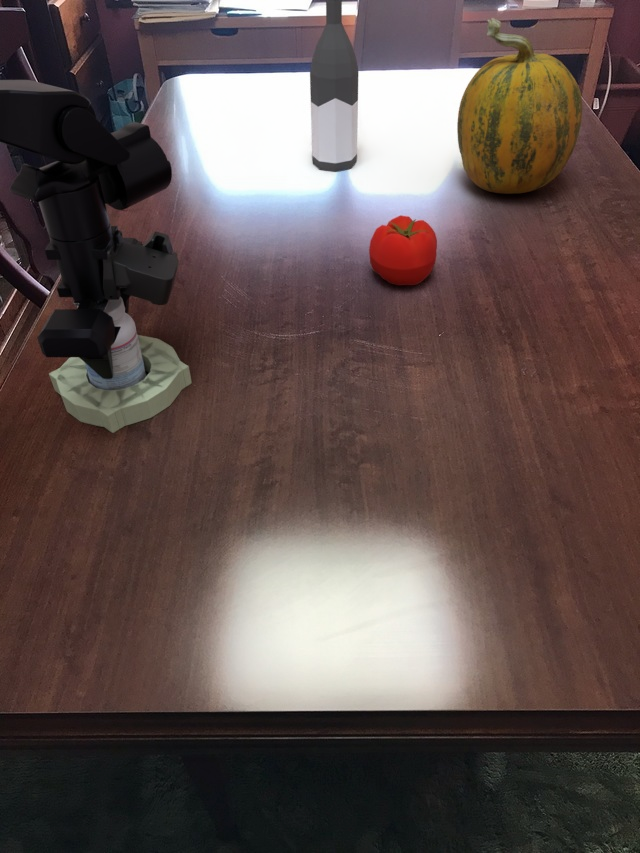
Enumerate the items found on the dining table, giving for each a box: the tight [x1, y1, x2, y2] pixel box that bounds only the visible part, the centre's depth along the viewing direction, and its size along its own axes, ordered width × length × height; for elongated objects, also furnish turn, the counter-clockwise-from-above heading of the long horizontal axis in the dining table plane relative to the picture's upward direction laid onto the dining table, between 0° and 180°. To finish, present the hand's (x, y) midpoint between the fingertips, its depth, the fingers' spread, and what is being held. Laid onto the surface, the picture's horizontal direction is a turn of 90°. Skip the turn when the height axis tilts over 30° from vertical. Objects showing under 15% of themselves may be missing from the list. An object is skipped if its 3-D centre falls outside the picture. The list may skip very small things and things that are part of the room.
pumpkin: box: [456, 17, 583, 195], centre depth 108 cm, size 19×19×25 cm
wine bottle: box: [309, 0, 359, 173], centre depth 114 cm, size 8×8×30 cm
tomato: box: [368, 215, 438, 286], centre depth 93 cm, size 9×9×8 cm
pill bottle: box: [76, 296, 147, 390], centre depth 74 cm, size 6×6×11 cm
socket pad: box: [48, 334, 193, 434], centre depth 78 cm, size 13×13×2 cm
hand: (115, 360), depth 76 cm, fingers closed on pill bottle, 6 cm apart
